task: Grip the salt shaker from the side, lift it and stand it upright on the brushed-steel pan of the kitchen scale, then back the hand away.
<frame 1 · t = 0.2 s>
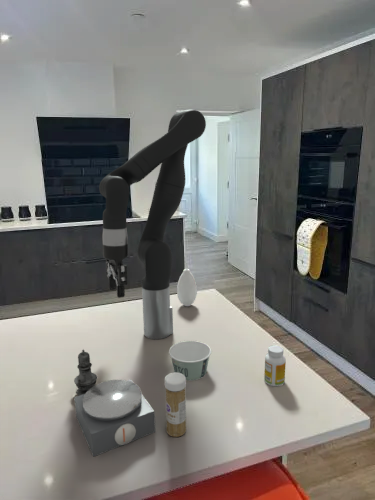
hand: (116, 293, 119), 18 cm above the kitchen island, tool pointing down, fingers open, 8 cm apart
supplement bottle: (274, 381, 102), on the kitchen island
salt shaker: (86, 391, 99), on the kitchen island
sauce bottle: (187, 306, 154), on the kitchen island
food container: (190, 371, 108), on the kitchen island
sprinkles bottle: (176, 431, 85), on the kitchen island
scale pan: (112, 401, 85), point 6 cm above the kitchen island, slide at -0.4 cm
kitchen scale: (114, 424, 87), on the kitchen island
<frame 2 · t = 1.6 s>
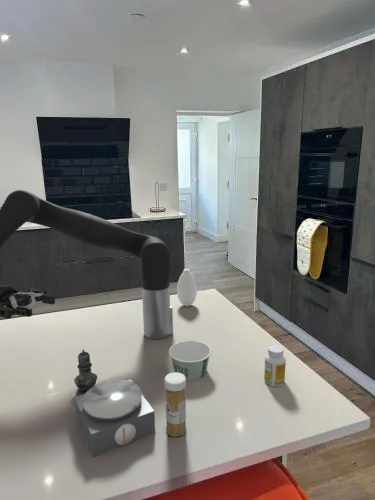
hand: (43, 306, 97), 22 cm above the kitchen island, tool horizontal, fingers open, 8 cm apart
nothing on the kitchen island moved.
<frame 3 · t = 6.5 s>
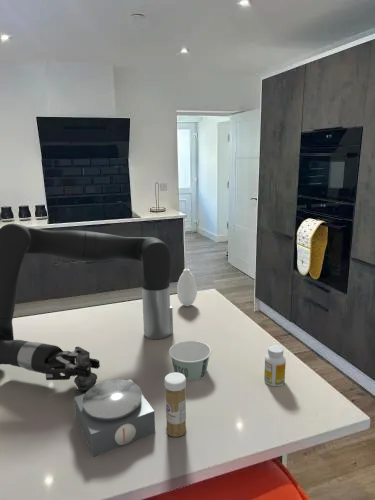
hand: (94, 368, 97), 7 cm above the kitchen island, tool horizontal, fingers closed on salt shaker, 3 cm apart
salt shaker: (86, 391, 99), on the kitchen island, touching gripper
everything else where it was.
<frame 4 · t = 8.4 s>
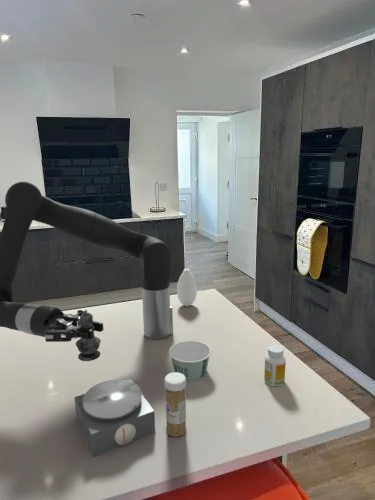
hand: (97, 330, 89), 20 cm above the kitchen island, tool horizontal, fingers closed on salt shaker, 3 cm apart
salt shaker: (89, 356, 92), point 12 cm above the kitchen island, touching gripper
everything else where it was.
when the fingers open (15 cm above the kitchen island, at t = 10.4 s): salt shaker drops 1 cm, resting on scale pan.
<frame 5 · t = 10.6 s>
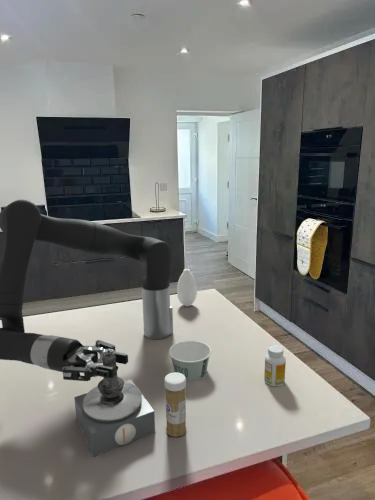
hand: (120, 366, 82), 15 cm above the kitchen island, tool horizontal, fingers open, 5 cm apart
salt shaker: (112, 398, 85), point 7 cm above the kitchen island, touching scale pan
scale pan: (113, 403, 85), point 6 cm above the kitchen island, slide at -0.8 cm, touching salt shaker
everything else where it was.
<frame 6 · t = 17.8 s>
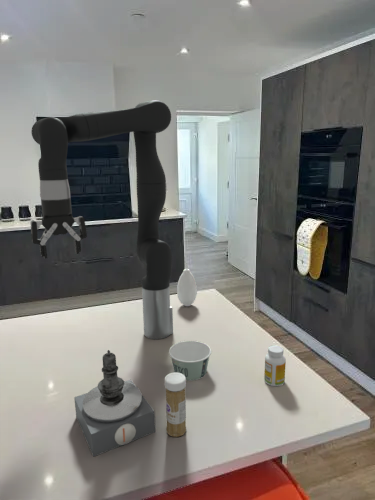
hand: (61, 255, 105), 33 cm above the kitchen island, tool pointing down, fingers open, 8 cm apart
nothing on the kitchen island moved.
at the end: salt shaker inside the target area on the kitchen scale (0.1 cm from its centre), point 6.7 cm above the kitchen scale's base; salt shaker touching scale pan; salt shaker tilted 0° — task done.
